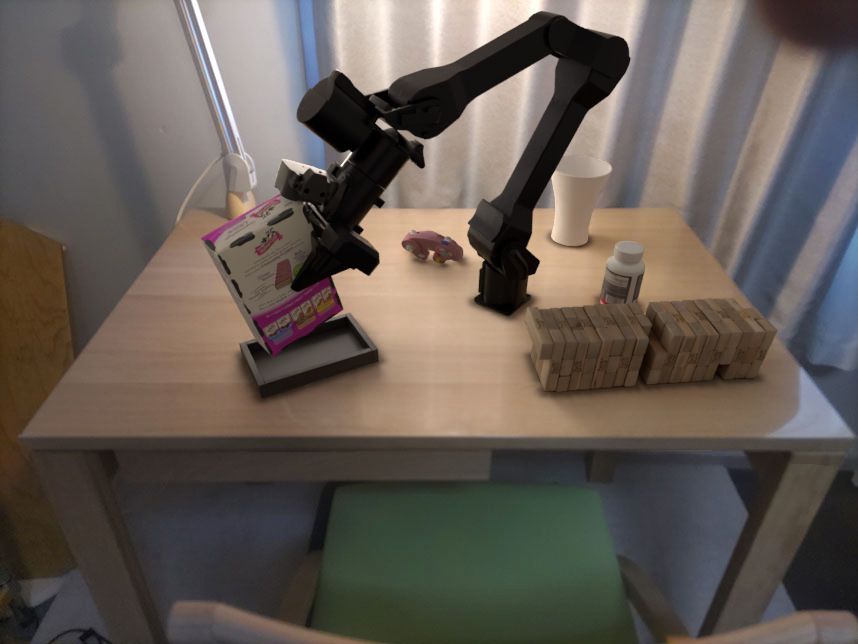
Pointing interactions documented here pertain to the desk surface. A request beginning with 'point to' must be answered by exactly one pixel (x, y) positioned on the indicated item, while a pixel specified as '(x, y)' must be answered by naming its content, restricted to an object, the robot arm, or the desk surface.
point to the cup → (576, 196)
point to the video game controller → (432, 246)
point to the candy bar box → (272, 272)
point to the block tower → (647, 343)
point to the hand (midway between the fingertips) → (286, 278)
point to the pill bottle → (623, 274)
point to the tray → (310, 356)
